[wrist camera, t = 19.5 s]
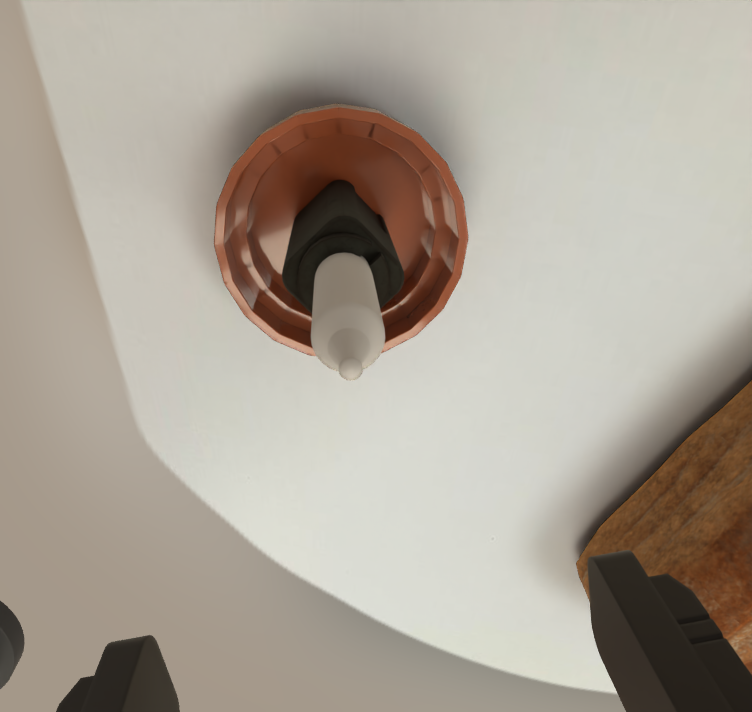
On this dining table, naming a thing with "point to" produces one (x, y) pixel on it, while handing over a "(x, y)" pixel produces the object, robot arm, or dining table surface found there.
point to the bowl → (376, 188)
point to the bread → (697, 521)
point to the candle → (343, 276)
